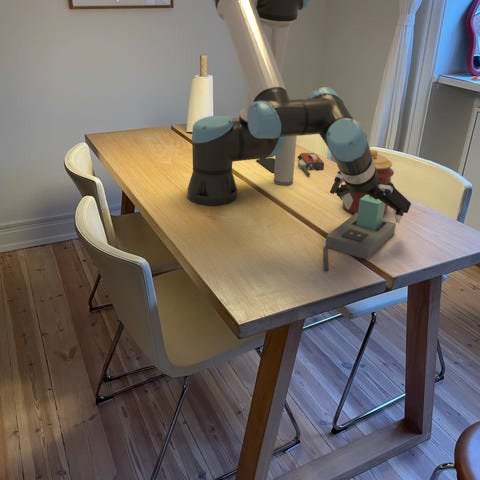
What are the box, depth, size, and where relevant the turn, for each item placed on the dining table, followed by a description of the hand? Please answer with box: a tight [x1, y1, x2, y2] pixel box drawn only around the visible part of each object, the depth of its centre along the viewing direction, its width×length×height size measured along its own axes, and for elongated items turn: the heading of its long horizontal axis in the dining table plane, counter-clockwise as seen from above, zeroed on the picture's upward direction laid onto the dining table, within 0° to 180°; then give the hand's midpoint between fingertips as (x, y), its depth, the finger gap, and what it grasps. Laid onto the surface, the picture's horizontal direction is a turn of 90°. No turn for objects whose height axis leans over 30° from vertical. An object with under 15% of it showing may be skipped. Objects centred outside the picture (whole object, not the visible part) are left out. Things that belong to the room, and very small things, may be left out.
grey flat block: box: [324, 213, 397, 260], centre depth 124 cm, size 18×11×3 cm, turn 144°
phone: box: [255, 157, 275, 174], centre depth 176 cm, size 7×1×15 cm
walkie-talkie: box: [297, 152, 325, 176], centre depth 175 cm, size 9×4×20 cm
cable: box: [322, 245, 329, 272], centre depth 115 cm, size 11×1×1 cm, turn 172°
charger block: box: [356, 195, 385, 232], centre depth 126 cm, size 5×5×11 cm
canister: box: [342, 149, 395, 215], centre depth 140 cm, size 13×13×18 cm
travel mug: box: [273, 136, 297, 186], centre depth 157 cm, size 6×7×20 cm
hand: (374, 211), depth 128 cm, fingers open, 13 cm apart
